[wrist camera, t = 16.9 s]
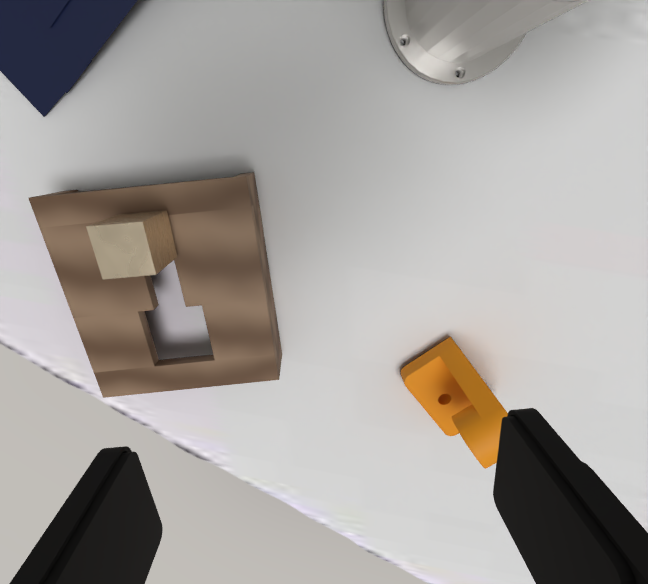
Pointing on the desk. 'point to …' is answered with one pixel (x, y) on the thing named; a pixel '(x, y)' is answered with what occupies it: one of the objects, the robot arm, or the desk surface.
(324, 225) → the desk surface
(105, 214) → the keyhole board
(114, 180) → the desk surface
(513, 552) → the desk surface
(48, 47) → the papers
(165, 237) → the peg
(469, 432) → the bracket
